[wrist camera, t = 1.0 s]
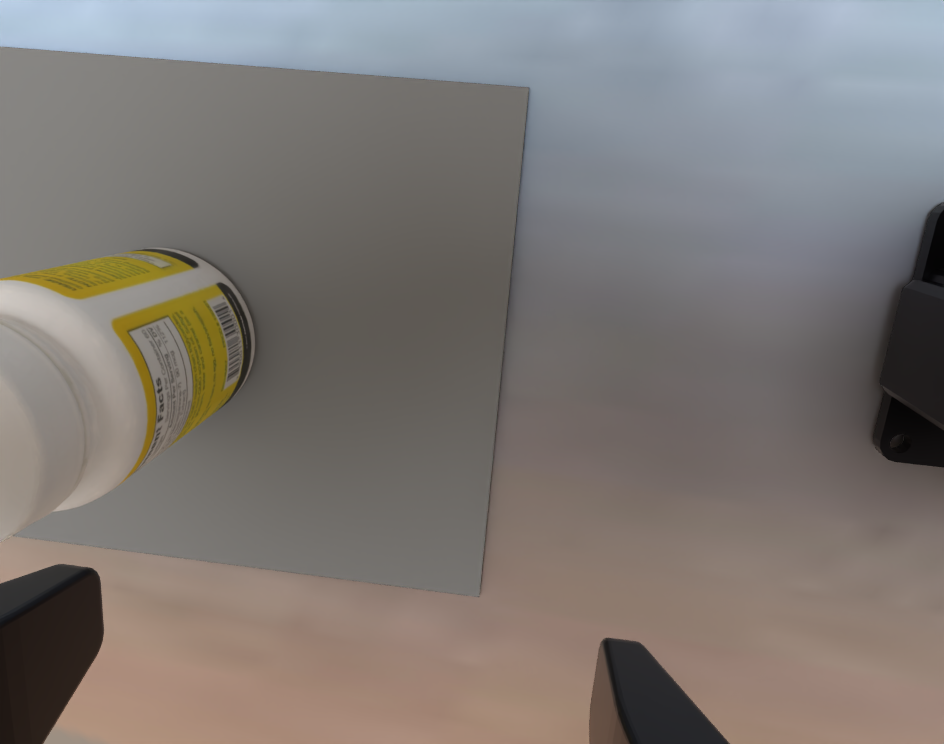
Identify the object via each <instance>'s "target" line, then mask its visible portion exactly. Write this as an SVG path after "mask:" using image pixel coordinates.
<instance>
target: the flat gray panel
mask: <svg viewBox="0 0 944 744" xmlns="http://www.w3.org/2000/svg"><path fill="white" fill-rule="evenodd" d="M528 94H529V87H516V86H503V85H490V84H477V83H464V82H451V81H438V80H425V79H412V78H399V77H386V76H373V75H360V74H347V73H334V72H321V71H308V70H295V69H282V68H269V67H256V66H244V65H231V64H218V63H205V62H192V61H179V60H166V59H153V58H140V57H127V56H114V55H101V54H88V53H75V52H62V51H49V50H36V49H23V48H10V47H0V279H1V278H7V277H11V276H15V275H20V274H25V273H30V272H35V271H39V270H44V269H49V268H54V267H59V266H63V265H68V264H73V263H78V262H82V261H86V260H92V259H97V258H101V257H106V256H110V255H115V254H120V253H125V252H130V251H135V250H140V249H146V248H169V249H175V250H180V251H183V252H186V253H189V254H191V255H194V256H196V257H198V258H200V259H202V260H204V261H205V262H207V263H209V264H210V265H212V266H213V267H215V268H216V269H217V270H219V271H220V272H221V273H222V274H223V275H224V276H225V277H226V278H227V279H228V280H229V281H230V282H231V283H232V284H233V285H234V287H235V288H236V289H237V290H238V292H239V293H240V295H241V297H242V298H243V300H244V302H245V304H246V306H247V308H248V311H249V313H250V316H251V319H252V323H253V328H254V335H255V352H254V358H253V363H252V366H251V369H250V372H249V374H248V377H247V379H246V381H245V382H244V384H243V386H242V387H241V389H240V390H239V391H238V393H237V394H236V395H235V396H234V397H233V398H232V399H231V400H230V401H229V402H228V403H227V404H225V405H224V406H223V407H222V408H220V409H219V410H218V411H217V412H215V413H214V414H212V415H211V416H210V417H208V418H207V419H206V420H204V421H203V422H202V423H200V424H199V425H198V426H197V427H195V428H194V429H192V430H191V431H190V432H188V433H187V434H186V435H184V436H183V437H182V438H180V439H179V440H178V441H177V442H175V443H174V444H173V445H171V446H170V447H169V448H167V449H166V450H165V451H163V452H162V453H161V454H160V455H158V456H157V457H155V458H154V459H153V460H151V461H150V462H149V463H147V464H146V465H145V466H143V467H142V468H141V469H140V470H138V471H137V472H135V473H134V474H133V475H131V476H130V477H129V478H128V479H126V480H125V481H124V482H122V483H121V484H120V485H118V486H117V487H116V488H114V489H113V490H111V491H110V492H108V493H107V494H105V495H103V496H101V497H100V498H98V499H96V500H94V501H92V502H90V503H87V504H85V505H82V506H80V507H76V508H72V509H67V510H62V511H55V512H51V513H50V514H48V515H47V516H45V517H43V518H41V519H40V520H38V521H35V522H34V523H32V524H30V525H29V526H27V527H26V528H24V529H22V530H21V531H19V532H18V533H16V534H14V535H13V536H16V537H23V538H31V539H39V540H46V541H54V542H62V543H69V544H77V545H85V546H92V547H100V548H107V549H115V550H123V551H130V552H138V553H146V554H153V555H161V556H168V557H176V558H184V559H191V560H199V561H207V562H214V563H222V564H229V565H237V566H245V567H252V568H260V569H268V570H275V571H283V572H291V573H298V574H306V575H313V576H321V577H329V578H336V579H344V580H352V581H359V582H367V583H374V584H382V585H390V586H397V587H405V588H413V589H420V590H428V591H435V592H443V593H451V594H458V595H466V596H474V597H479V595H480V586H481V576H482V566H483V556H484V545H485V535H486V525H487V515H488V504H489V494H490V484H491V474H492V463H493V453H494V443H495V432H496V422H497V412H498V402H499V391H500V381H501V371H502V361H503V350H504V340H505V330H506V320H507V309H508V299H509V289H510V279H511V268H512V258H513V248H514V237H515V227H516V217H517V207H518V196H519V186H520V176H521V166H522V155H523V145H524V135H525V125H526V114H527V104H528Z"/></svg>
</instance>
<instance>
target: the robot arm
mask: <svg viewBox="0 0 944 744" xmlns="http://www.w3.org/2000/svg"><path fill="white" fill-rule="evenodd" d="M880 384H881V385H882V387H883V388H884V389H885V392H884V396H883V400H882V404H881V408H880V412H879V416H878V420H877V424H876V428H875V432H874V436H873V444H874V446H875V448H876V450H878V451H879V452H880V453H881V454H882V455H883V456H885V457H886V458H887V459H888V460H891V461H894V462H901V463H910V464H918V465H927V466H936V467H944V203H942V204H940V205H938V206H937V207H936V208H935V209H934V210H933V211H932V213H931V215H930V217H929V219H928V222H927V226H926V230H925V234H924V238H923V242H922V246H921V250H920V254H919V258H918V262H917V266H916V270H915V274H914V278H913V281H911V282H910V283H909V284H908V285H907V286H905V287H904V288H903V290H902V294H901V298H900V302H899V306H898V310H897V314H896V318H895V322H894V326H893V330H892V334H891V338H890V342H889V346H888V350H887V354H886V358H885V362H884V366H883V370H882V374H881V378H880ZM900 434H904V440H903V442H902V443H901V444H900V445H899V446H897V447H890V442H891V440H892V438H893V437H895V436H897V435H900ZM103 635H104V624H103V609H102V595H101V582H100V577H99V575H98V573H97V572H96V571H95V570H94V569H92V568H88V567H81V566H73V565H66V564H58V565H54V566H51V567H48V568H45V569H42V570H39V571H36V572H33V573H30V574H28V575H25V576H22V577H19V578H16V579H13V580H10V581H7V582H4V583H1V584H0V744H43V743H44V741H45V740H46V738H47V736H48V735H49V733H50V732H51V730H52V728H53V727H54V725H55V723H56V722H57V720H58V718H59V717H60V715H61V713H62V712H63V710H64V709H65V707H66V705H67V704H68V702H69V700H70V699H71V697H72V695H73V694H74V692H75V690H76V689H77V687H78V686H79V684H80V682H81V681H82V679H83V677H84V676H85V674H86V672H87V671H88V669H89V667H90V666H91V664H92V663H93V661H94V659H95V658H96V656H97V654H98V652H99V650H100V647H101V644H102V641H103ZM589 741H590V744H730V743H729V742H728V741H727V740H726V739H725V738H724V737H723V735H722V734H721V733H720V732H719V731H718V730H717V729H716V727H715V726H714V725H713V724H712V723H711V722H710V721H709V720H708V718H707V717H706V716H705V715H704V714H703V713H702V712H701V710H700V709H699V708H698V707H697V706H696V705H695V704H694V702H693V701H692V700H691V699H690V698H689V697H688V696H687V694H686V693H685V692H684V691H683V690H682V689H681V688H680V686H679V685H678V684H677V683H676V682H675V681H674V680H673V678H672V677H671V676H670V675H669V674H668V673H667V672H666V670H665V669H664V668H663V667H662V666H661V665H660V664H659V663H658V661H657V660H656V659H655V658H654V657H653V656H652V655H651V653H650V652H649V651H648V650H647V649H646V648H645V647H644V646H643V645H642V644H641V643H639V642H637V641H629V640H622V639H614V638H605V639H603V640H602V642H601V644H600V647H599V653H598V659H597V666H596V672H595V678H594V685H593V691H592V698H591V705H590V720H589Z"/></svg>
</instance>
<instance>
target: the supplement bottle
mask: <svg viewBox="0 0 944 744" xmlns="http://www.w3.org/2000/svg"><path fill="white" fill-rule="evenodd" d="M254 352H255V335H254V328H253V323H252V319H251V316H250V313H249V311H248V308H247V306H246V304H245V302H244V300H243V298H242V297H241V295H240V293H239V292H238V290H237V289H236V288H235V287H234V285H233V284H232V283H231V282H230V281H229V280H228V279H227V278H226V277H225V276H224V275H223V274H222V273H221V272H220V271H219V270H217V269H216V268H215V267H213V266H212V265H210V264H209V263H207V262H205V261H204V260H202V259H200V258H198V257H196V256H194V255H191V254H189V253H186V252H183V251H180V250H175V249H169V248H146V249H140V250H135V251H130V252H125V253H120V254H115V255H110V256H106V257H101V258H97V259H92V260H86V261H82V262H78V263H73V264H68V265H63V266H59V267H54V268H49V269H44V270H39V271H35V272H30V273H25V274H20V275H15V276H11V277H7V278H1V279H0V542H2V541H4V540H6V539H8V538H10V537H11V536H13V535H14V534H16V533H18V532H19V531H21V530H22V529H24V528H26V527H27V526H29V525H30V524H32V523H34V522H35V521H38V520H40V519H41V518H43V517H45V516H47V515H48V514H50V513H51V512H55V511H62V510H67V509H72V508H76V507H80V506H82V505H85V504H87V503H90V502H92V501H94V500H96V499H98V498H100V497H101V496H103V495H105V494H107V493H108V492H110V491H111V490H113V489H114V488H116V487H117V486H118V485H120V484H121V483H122V482H124V481H125V480H126V479H128V478H129V477H130V476H131V475H133V474H134V473H135V472H137V471H138V470H140V469H141V468H142V467H143V466H145V465H146V464H147V463H149V462H150V461H151V460H153V459H154V458H155V457H157V456H158V455H160V454H161V453H162V452H163V451H165V450H166V449H167V448H169V447H170V446H171V445H173V444H174V443H175V442H177V441H178V440H179V439H180V438H182V437H183V436H184V435H186V434H187V433H188V432H190V431H191V430H192V429H194V428H195V427H197V426H198V425H199V424H200V423H202V422H203V421H204V420H206V419H207V418H208V417H210V416H211V415H212V414H214V413H215V412H217V411H218V410H219V409H220V408H222V407H223V406H224V405H225V404H227V403H228V402H229V401H230V400H231V399H232V398H233V397H234V396H235V395H236V394H237V393H238V391H239V390H240V389H241V387H242V386H243V384H244V382H245V381H246V379H247V377H248V374H249V372H250V369H251V366H252V363H253V358H254Z"/></svg>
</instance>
